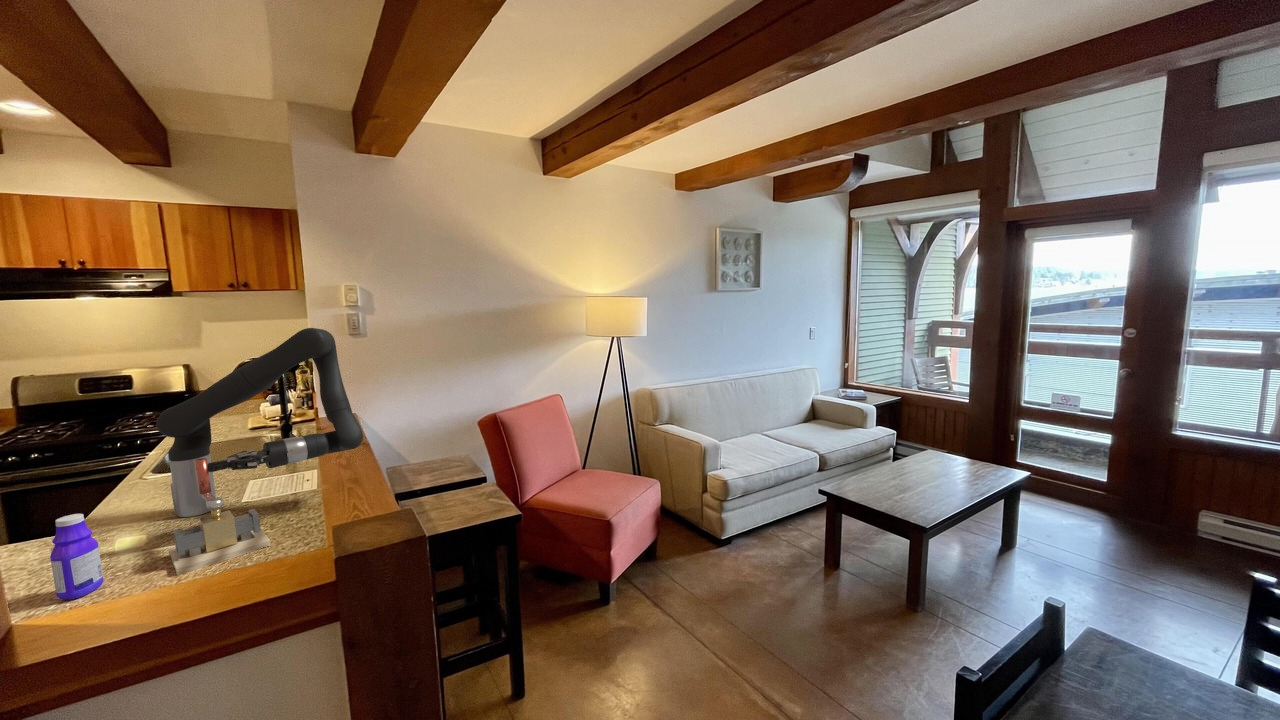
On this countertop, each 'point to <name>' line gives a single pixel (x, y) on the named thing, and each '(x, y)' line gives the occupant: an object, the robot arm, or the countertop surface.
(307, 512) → the countertop surface
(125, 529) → the countertop surface
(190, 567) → the valve board
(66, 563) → the bottle
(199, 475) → the valve lever
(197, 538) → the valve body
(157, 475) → the countertop surface
